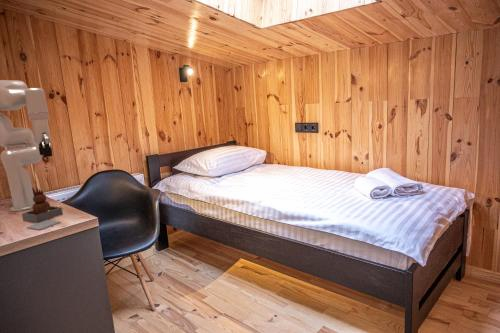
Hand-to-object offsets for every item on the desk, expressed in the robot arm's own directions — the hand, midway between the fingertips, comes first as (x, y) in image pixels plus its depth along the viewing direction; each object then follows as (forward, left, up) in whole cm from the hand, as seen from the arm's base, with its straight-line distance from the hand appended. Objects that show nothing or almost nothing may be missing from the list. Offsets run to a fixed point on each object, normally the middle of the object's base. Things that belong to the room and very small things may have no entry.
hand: (46, 155), depth 144 cm
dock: (-6, -3, -29) cm, 29 cm away
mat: (+6, -10, -29) cm, 31 cm away
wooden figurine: (-6, -3, -29) cm, 30 cm away
